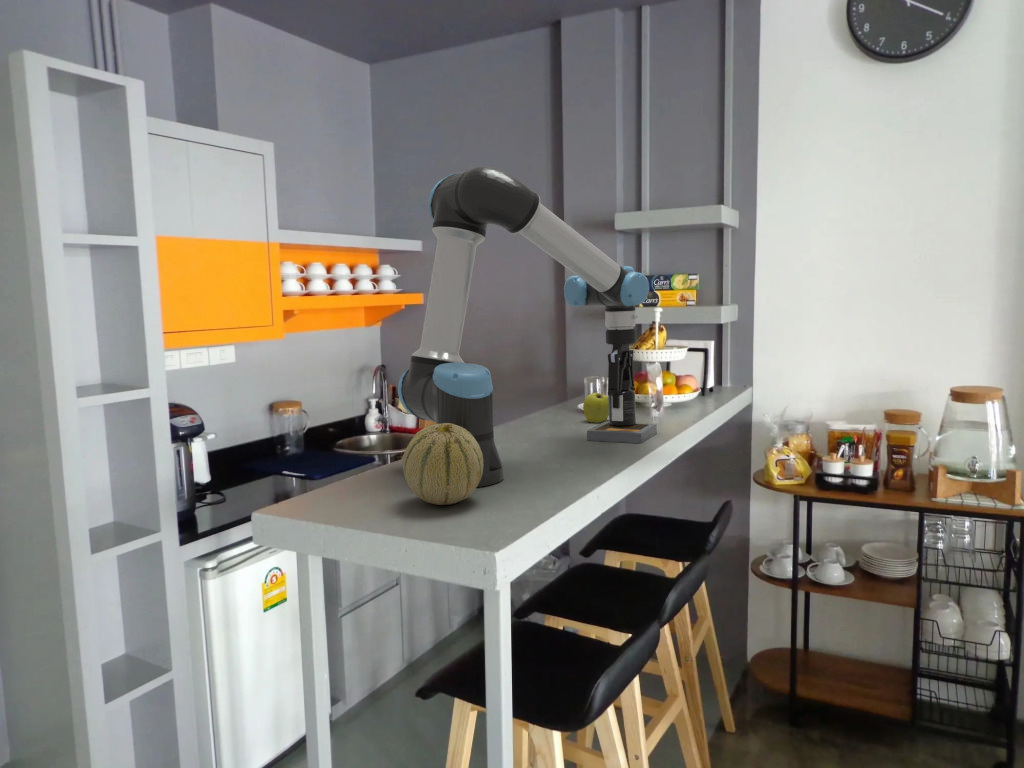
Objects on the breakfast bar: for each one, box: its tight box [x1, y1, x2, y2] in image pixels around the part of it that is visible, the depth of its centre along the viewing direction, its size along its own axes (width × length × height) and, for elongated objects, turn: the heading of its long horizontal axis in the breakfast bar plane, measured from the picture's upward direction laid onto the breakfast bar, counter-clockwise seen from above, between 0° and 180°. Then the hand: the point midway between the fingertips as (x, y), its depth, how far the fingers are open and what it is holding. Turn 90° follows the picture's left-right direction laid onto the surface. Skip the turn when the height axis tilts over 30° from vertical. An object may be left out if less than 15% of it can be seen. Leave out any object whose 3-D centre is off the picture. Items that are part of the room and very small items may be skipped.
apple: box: [582, 388, 609, 424], centre depth 217 cm, size 8×8×10 cm
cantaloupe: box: [402, 423, 484, 506], centre depth 137 cm, size 15×15×15 cm
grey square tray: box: [586, 420, 658, 444], centre depth 194 cm, size 14×14×2 cm
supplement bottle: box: [607, 379, 637, 428], centre depth 193 cm, size 7×7×12 cm
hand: (622, 418), depth 194 cm, fingers closed on supplement bottle, 7 cm apart
